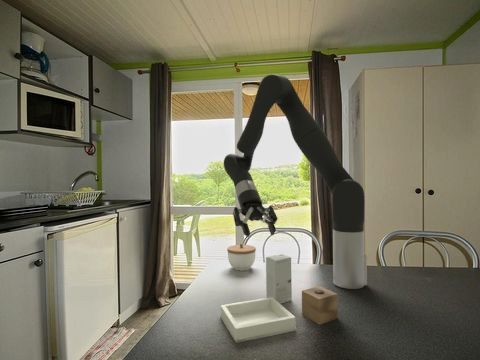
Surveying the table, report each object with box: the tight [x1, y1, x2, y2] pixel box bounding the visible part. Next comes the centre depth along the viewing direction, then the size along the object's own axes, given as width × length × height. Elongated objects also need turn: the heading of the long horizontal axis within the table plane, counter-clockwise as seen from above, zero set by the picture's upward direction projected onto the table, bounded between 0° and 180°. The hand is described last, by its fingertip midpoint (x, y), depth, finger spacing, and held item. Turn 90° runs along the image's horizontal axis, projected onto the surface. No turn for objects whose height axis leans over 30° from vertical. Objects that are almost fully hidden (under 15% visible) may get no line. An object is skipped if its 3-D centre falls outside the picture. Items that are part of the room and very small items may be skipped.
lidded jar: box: [226, 242, 257, 272], centre depth 111 cm, size 11×11×9 cm
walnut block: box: [301, 285, 339, 325], centre depth 72 cm, size 6×6×6 cm
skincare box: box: [265, 254, 293, 305], centre depth 82 cm, size 6×4×12 cm
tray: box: [219, 297, 297, 344], centre depth 69 cm, size 14×12×3 cm
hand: (261, 234), depth 93 cm, fingers open, 8 cm apart
